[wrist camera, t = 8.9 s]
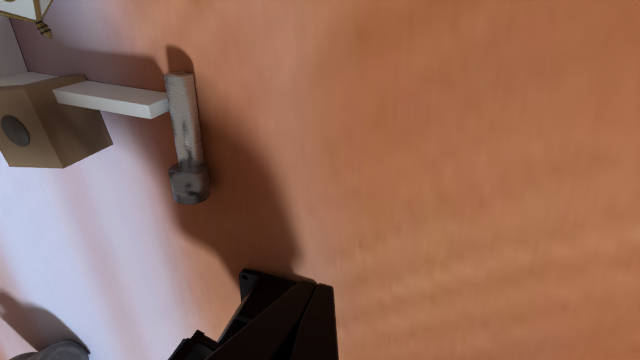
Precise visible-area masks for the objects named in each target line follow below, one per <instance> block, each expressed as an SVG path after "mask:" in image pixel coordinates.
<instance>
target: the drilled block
mask: <svg viewBox="0 0 640 360" xmlns="http://www.w3.org/2000/svg"><path fill="white" fill-rule="evenodd" d="M83 81H87V80H86V77H85V75H84V74H83V75H70V76H59V77H54V78H50V79H46V80H42V81H37V82H33V83H29V84H25V85H14V86H0V151H1V153H2V154H3V156H4V158H5V160H6V161H7V163H8V165H9V167H36V168H65V167H67V166H70V165H72V164H74V163H76V162H78V161H80V160H82V159H84V158H86V157H88V156H90V155H92V154H94V153H96V152H98V151H100V150H103V149H105V148H107V147H109V146H111V145H113V143H112V141H111V139H110V136H109V134H108V131H107V129H106V126H105V124H104V121H103V119H102V117H101V114H100V112H99V110H96V109H90V108H84V107H79V106H73V105H67V104H62V103H58V102H57V99H56V97H55V95H54V93H53V91H52V90H53V89H57V88H61V87H64V86H68V85H72V84H76V83H79V82H83Z"/></svg>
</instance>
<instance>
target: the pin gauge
mask: <svg viewBox="0 0 640 360" xmlns="http://www.w3.org/2000/svg"><path fill="white" fill-rule="evenodd" d="M164 80H165V86H166V93H167V99H168V105H169V111H170V117H171V123H172V129H173V135H174V141H175V147H176V153H177V159H178V163H177V164H174V165H173V166H171V167H170V168H169V171H168V172H169V177H170V183H171V188H172V193H173V199H174V200H175V201H176V202H177V203H180V204H186V205H189V204H196V203H200V202H202V201H204V200H206V199H207V198H208V197H209V196H210V186H209V177H208V169H207V165H206V164H205V163H204V158H203V150H202V142H201V134H200V126H199V118H198V109H197V101H196V93H195V85H194V77H193V73H190V72H184V71H176V72H168V73H165V74H164Z"/></svg>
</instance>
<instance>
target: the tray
mask: <svg viewBox="0 0 640 360" xmlns="http://www.w3.org/2000/svg"><path fill="white" fill-rule="evenodd" d="M54 77H59V76H54V75H48V74H41V73H35V72H28V70H27V68H26V65H25V62H24V59H23V56H22V54H21V51H20V48H19V45H18V42H17V39H16V37H15V34H14V31H13V28H12V25H11V23H10V20H9V17H4V16H0V86H14V85H25V84H29V83H33V82H37V81H42V80H46V79H50V78H54ZM52 91H53V93H54V95H55V97H56V99H57V102H58V103H62V104H67V105H73V106H79V107H84V108H90V109H96V110H101V111H107V112H113V113H119V114H124V115H130V116H136V117H141V118H147V119H153V118H155V117H157V116H159V115H161V114H163V113H166V112H168V111H169V105H168V99H167V93H164V92H158V91H151V90H145V89H138V88H132V87H125V86H119V85H112V84H106V83H99V82H93V81H83V82H79V83H76V84H72V85H68V86H64V87H61V88H57V89H53V90H52Z"/></svg>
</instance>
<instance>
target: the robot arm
mask: <svg viewBox="0 0 640 360" xmlns="http://www.w3.org/2000/svg"><path fill="white" fill-rule="evenodd" d="M239 281H240V293H241V304H240V305H239V307H238V308H237V310H236V312H235V313H234V315H233V316H232V318H231V320H230V321H229V323H228V325H227V326H226V328H225V329H224V331H223V333H222V334H221V336H220V337H219V339H218V341H217V342H216V341H214V340H212V339H211V338H209V337H207V336H205V335H204V334H205V333H203V332H201V331H200V330H197V331H196V332H195V333H194V335H193V336H192V337H191V338H190V339H189V338H187V339H183V340H182V341H181V343H180V344H179V346H178V347H177V348H176V350H175V351H174V353H173V354H172V355H171V357H170V358H169V359H168V360H339V356H338V343H337V329H336V316H335V303H334V290H333V287H332V286H329V285H326V284H322V283H319V284H317V283H316V282H314V281H310V280H306V279H302V280H301V281H299V282H298V283H297V282H293V281H289V280H286V279H282V278H278V277H274V276H271V275H267V274H263V273H260V272H256V271H252V270H248V269H243V270H242V271H241V272H240V274H239Z"/></svg>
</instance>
